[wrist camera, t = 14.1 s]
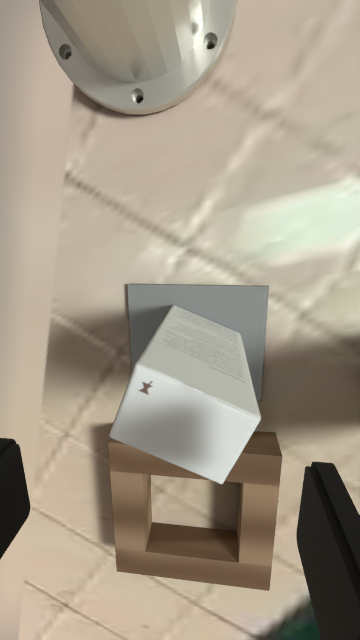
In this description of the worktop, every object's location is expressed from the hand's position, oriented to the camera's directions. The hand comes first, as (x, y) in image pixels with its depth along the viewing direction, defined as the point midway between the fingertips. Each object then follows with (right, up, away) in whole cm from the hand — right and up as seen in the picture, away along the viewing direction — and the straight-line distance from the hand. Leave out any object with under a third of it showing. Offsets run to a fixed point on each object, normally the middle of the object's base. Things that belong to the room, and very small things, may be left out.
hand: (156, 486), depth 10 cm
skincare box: (+2, +4, +15) cm, 16 cm away
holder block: (+2, -11, +20) cm, 23 cm away
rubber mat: (+2, +4, +16) cm, 16 cm away
